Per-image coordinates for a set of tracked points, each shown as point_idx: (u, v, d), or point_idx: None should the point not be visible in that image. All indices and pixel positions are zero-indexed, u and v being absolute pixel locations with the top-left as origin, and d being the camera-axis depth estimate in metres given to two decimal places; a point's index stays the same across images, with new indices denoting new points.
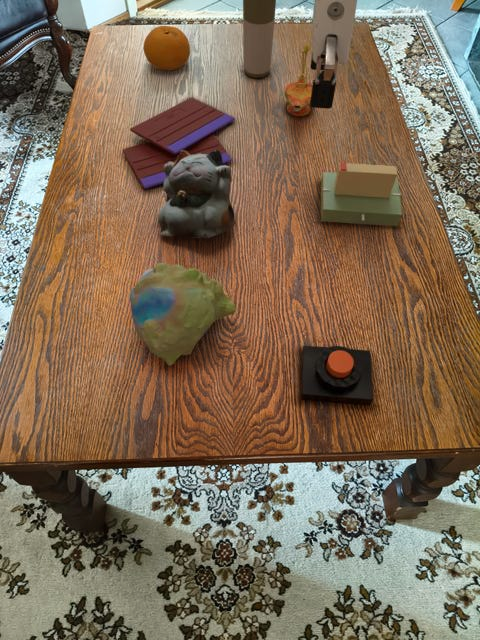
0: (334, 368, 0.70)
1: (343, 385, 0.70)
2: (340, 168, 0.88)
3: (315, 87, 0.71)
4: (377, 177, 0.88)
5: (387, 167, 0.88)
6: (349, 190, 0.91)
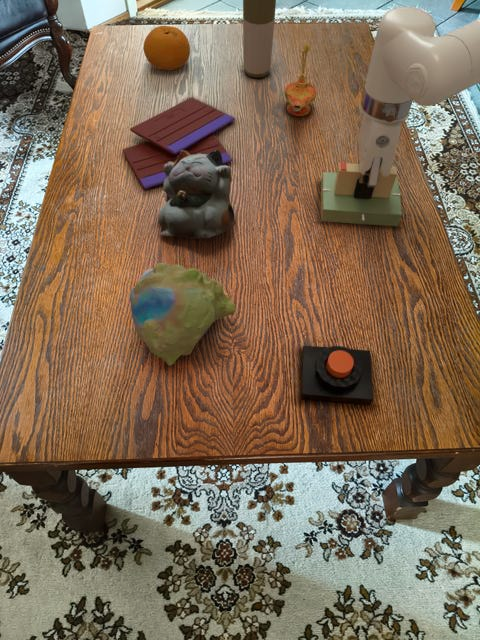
0: (334, 368, 0.70)
1: (343, 385, 0.70)
2: (340, 168, 0.88)
3: (359, 184, 0.89)
4: (377, 177, 0.88)
5: None
6: (349, 190, 0.91)
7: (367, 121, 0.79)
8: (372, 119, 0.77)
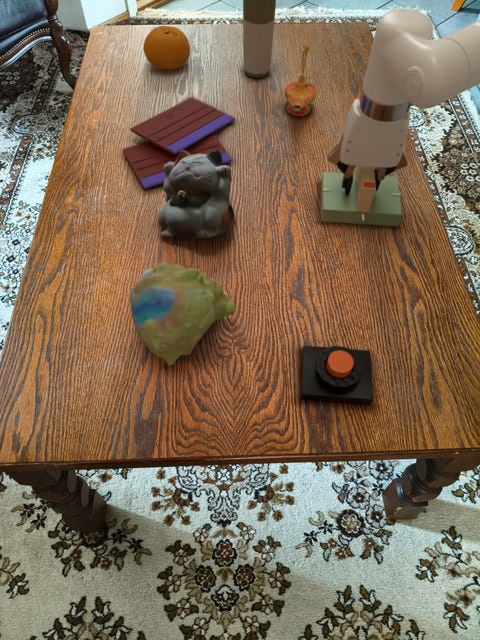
0: (334, 368, 0.70)
1: (343, 385, 0.70)
2: (372, 187, 0.85)
3: None
4: None
5: None
6: None
7: (391, 127, 0.78)
8: (403, 117, 0.77)
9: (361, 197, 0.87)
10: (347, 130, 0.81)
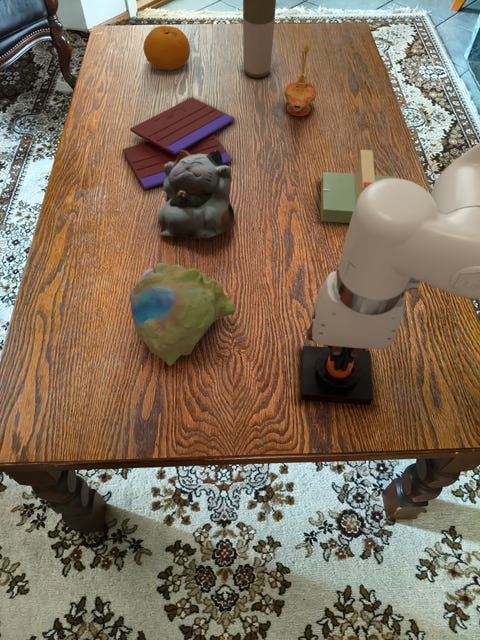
0: None
1: (343, 385, 0.70)
2: None
3: None
4: None
5: (363, 155, 0.90)
6: None
7: None
8: (396, 305, 0.55)
9: None
10: (320, 312, 0.59)
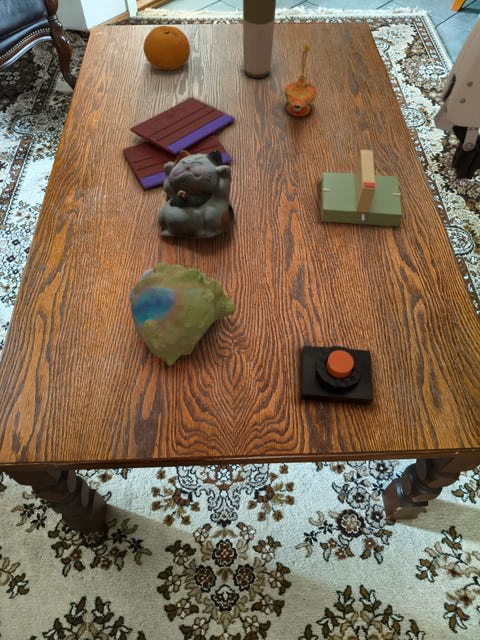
0: (334, 368, 0.70)
1: (343, 385, 0.70)
2: (372, 187, 0.85)
3: None
4: None
5: (363, 155, 0.90)
6: None
7: None
8: None
9: (361, 197, 0.87)
10: (468, 64, 0.48)
